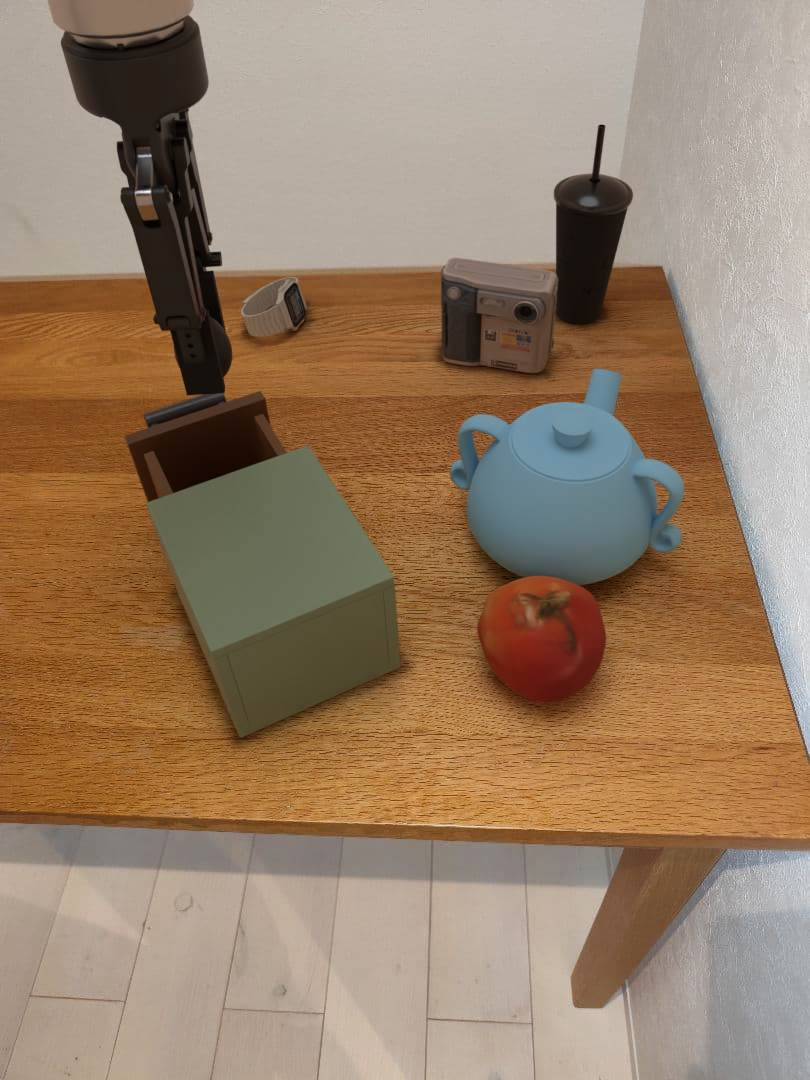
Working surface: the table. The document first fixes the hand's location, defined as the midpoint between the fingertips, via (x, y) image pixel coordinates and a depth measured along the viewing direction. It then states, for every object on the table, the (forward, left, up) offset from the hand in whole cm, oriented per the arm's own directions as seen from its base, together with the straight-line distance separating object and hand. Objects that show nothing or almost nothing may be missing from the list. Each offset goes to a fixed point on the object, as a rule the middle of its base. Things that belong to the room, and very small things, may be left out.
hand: (208, 370), depth 66 cm
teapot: (+28, -2, -16) cm, 32 cm away
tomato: (+23, -17, -16) cm, 33 cm away
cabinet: (+4, -12, -16) cm, 21 cm away
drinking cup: (+35, +28, -16) cm, 47 cm away
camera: (+25, +21, -16) cm, 36 cm away
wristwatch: (+2, +30, -16) cm, 34 cm away
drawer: (-1, -1, -15) cm, 15 cm away
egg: (0, 0, 0) cm, 0 cm away
